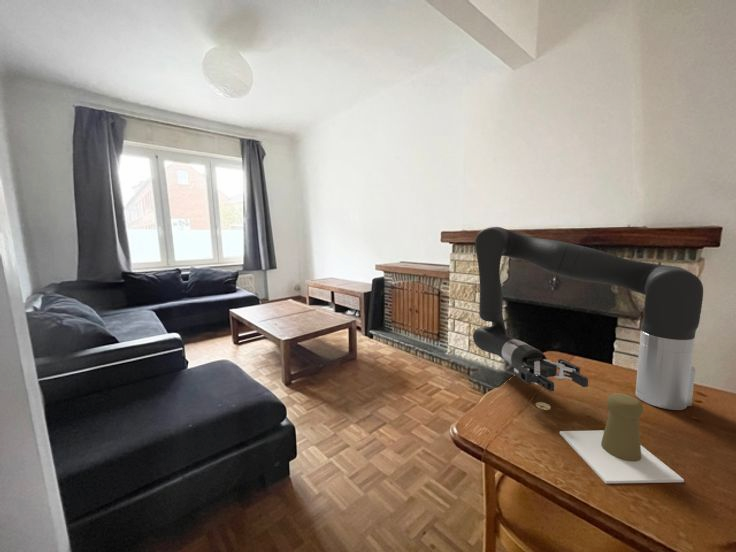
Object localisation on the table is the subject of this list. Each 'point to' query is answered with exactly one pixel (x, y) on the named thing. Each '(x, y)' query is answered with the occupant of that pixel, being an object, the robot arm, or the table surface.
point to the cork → (623, 427)
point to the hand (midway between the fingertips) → (569, 385)
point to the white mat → (618, 461)
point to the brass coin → (543, 406)
